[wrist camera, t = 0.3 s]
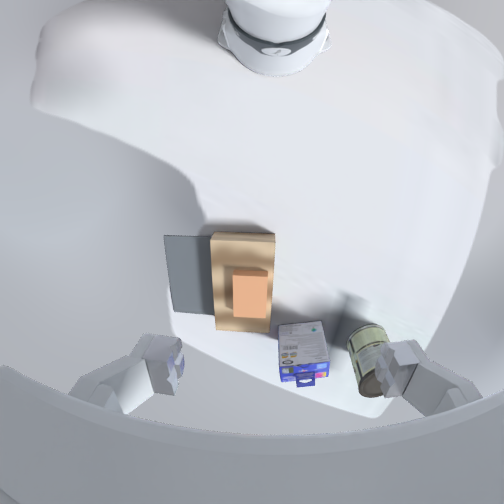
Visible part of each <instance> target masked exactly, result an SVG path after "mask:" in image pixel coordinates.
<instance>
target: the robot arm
mask: <svg viewBox="0 0 504 504" xmlns="http://www.w3.org/2000/svg"><path fill="white" fill-rule="evenodd" d="M331 1H332V0H225V4H227V8H226V11H224V12H223V21H222V24H221V27H220V31H219V34H218V38H217V40H218V43H219V44H220V45H221V46H222V47H224V48H226V49H228V50H230V51H231V52H232V53H233V54H234V55H235V56H236V57H237V59H238V60H239V61H240V62H241V63H242V64H243V65H244V66H246V67H247V68H248V69H250V70H252V71H254V72H256V73H259V74H262V75H267V76H286V75H291V74H294V73H296V72H299V71H300V70H302V69H304V68H305V67H306V66H308V65H309V64H310V63H311V61H312V60H313V59H314V58H315V57H316V56H317V55H318V54H320V53H323V52H325V51H327V50H329V49H330V47H331V45H332V43H331V39H330V35H329V31H328V27H327V24H326V20H325V17H326V10H327V8H328V7H329V5H330V3H331ZM181 348H182V342H181V339H180V338H176V337H169V336H163V335H155V334H149V333H145V334H143V335H142V337H141V338H140V340H139V341H138V343H137V344H136V346H135V347H134V349H133V351H132V352H131V354H130V355H129V356H124V357H122V358H120V359H118V360H115V361H113V362H111V363H109V364H107V365H105V366H103V367H101V368H98V369H96V370H94V371H92V372H90V373H88V374H85V375H83V376H81V377H80V378H79V380H78V381H77V383H76V384H75V385H74V387H73V388H72V389H71V391H70V392H69V394H68V395H67V394H65V393H62V392H60V391H58V390H55V389H53V388H51V387H48V386H46V385H44V384H42V383H40V382H37V381H35V380H33V379H31V378H29V377H27V376H25V375H23V374H21V373H20V372H18V371H16V370H14V369H13V368H11V367H9V366H5V365H2V366H0V504H504V389H503V390H501V391H498V392H496V393H494V394H491V395H489V396H486V397H484V398H483V397H482V395H481V394H480V393H479V391H478V389H477V388H476V387H475V385H474V384H473V382H472V381H470V380H467V379H466V378H464V377H462V376H460V375H458V374H456V373H455V372H453V371H451V370H449V369H447V368H445V367H443V366H442V365H440V364H438V363H436V362H434V361H430V360H429V359H428V357H427V355H426V354H425V352H424V351H423V349H422V348H421V347H420V345H419V344H418V342H417V341H416V340H406V341H400V342H388V343H383V345H382V346H381V349H380V352H381V354H382V355H381V356H380V357H379V358H378V359H377V361H376V364H375V376H376V378H377V380H378V381H380V382H381V383H382V384H381V386H380V388H381V390H382V393H383V395H384V398H390V397H398V396H402V397H403V398H404V399H405V400H406V401H408V402H409V403H410V404H411V405H412V406H414V407H415V408H416V409H417V410H418V411H419V412H421V413H422V414H423V415H424V416H425V417H423V418H419V419H415V420H411V421H407V422H403V423H398V424H393V425H387V426H382V427H376V428H370V429H363V430H355V431H347V432H337V433H326V434H307V435H257V434H256V435H255V434H240V433H227V432H218V431H217V432H216V431H209V430H201V429H194V428H187V427H181V426H175V425H171V424H165V423H160V422H156V421H151V420H147V419H143V418H139V417H135V416H131V415H127V414H128V413H129V412H131V411H132V410H134V409H135V408H136V407H137V406H139V405H140V404H141V403H143V402H144V401H145V400H147V399H148V398H149V397H150V396H152V395H153V394H154V393H160V394H166V395H173V396H174V395H175V393H176V390H177V388H178V385H179V383H178V378H180V377H181V376H182V374H183V369H184V355H183V354H182V353H181V352H180V351H181Z"/></svg>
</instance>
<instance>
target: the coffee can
mask: <svg viewBox="0 0 504 504" xmlns="http://www.w3.org/2000/svg"><path fill="white" fill-rule="evenodd" d="M388 342H390V341H389V339H388V337H387V335H386V332H385V330H384V328H383V327H381V326H379V325H374V324H371V325H366V326H363V327H361V328H359V329H357V330H356V331H355V332H353V333H352V334H351V335H350V337H349V339H348V341H347V349H348V351H349V354H350V358H351V361H352V365H353V368H354V372H355V376H356V379H357V383H358V389H359V393H360V394H361V395H362V396H364V397H368V398H372V397H379V396H382V395H383V393H382V390H381V388H380V386H381V384H382V383H381V382H380V381H378V380H377V378H376V376H375V364H376V361H377V359H378V358H379V357H380V356H381V355H382V354H381V352H380V349H381V346H382V345H383V343H388Z"/></svg>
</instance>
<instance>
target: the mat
mask: <svg viewBox="0 0 504 504" xmlns="http://www.w3.org/2000/svg"><path fill="white" fill-rule="evenodd" d="M211 238H212V237H207V236H172V235H164V244H165V252H166V260H167V268H168V275H169V282H170V288H171V295H172V301H173V307H174V312H183V313H194V314H207V315H215V311H214V298H213V282H212V266H211V246H210V240H211Z"/></svg>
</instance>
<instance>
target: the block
mask: <svg viewBox="0 0 504 504" xmlns="http://www.w3.org/2000/svg"><path fill="white" fill-rule="evenodd" d="M267 285H268V271H252V270H234V272H233V315H234V317H248V318H266V303H267Z"/></svg>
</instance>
